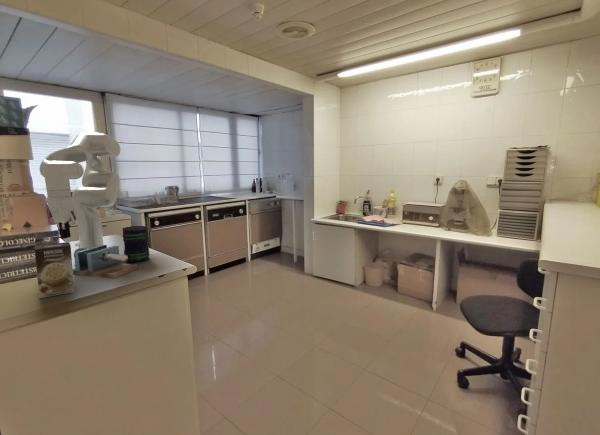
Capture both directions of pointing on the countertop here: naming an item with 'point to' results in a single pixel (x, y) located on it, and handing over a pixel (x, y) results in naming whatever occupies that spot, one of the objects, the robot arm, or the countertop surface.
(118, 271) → the base plate
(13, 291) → the countertop surface
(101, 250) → the bearing blocks
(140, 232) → the storage jar
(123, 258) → the shaft
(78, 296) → the countertop surface
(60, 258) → the coffee box
